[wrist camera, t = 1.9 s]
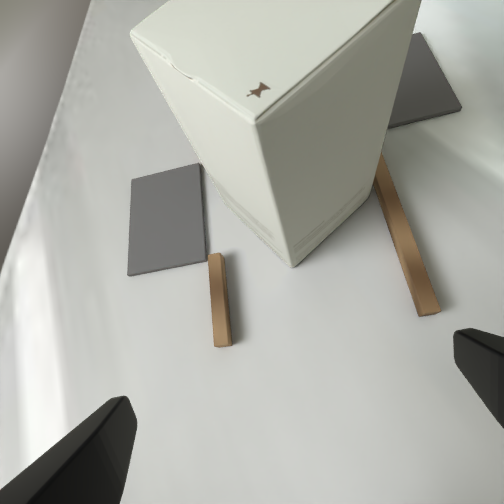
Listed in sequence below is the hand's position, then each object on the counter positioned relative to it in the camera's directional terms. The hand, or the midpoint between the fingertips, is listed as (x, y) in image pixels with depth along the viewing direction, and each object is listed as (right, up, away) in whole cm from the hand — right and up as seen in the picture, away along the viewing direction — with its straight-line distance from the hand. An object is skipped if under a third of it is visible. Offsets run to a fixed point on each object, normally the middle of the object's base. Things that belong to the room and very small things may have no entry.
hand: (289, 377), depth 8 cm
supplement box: (+3, +8, +17) cm, 19 cm away
